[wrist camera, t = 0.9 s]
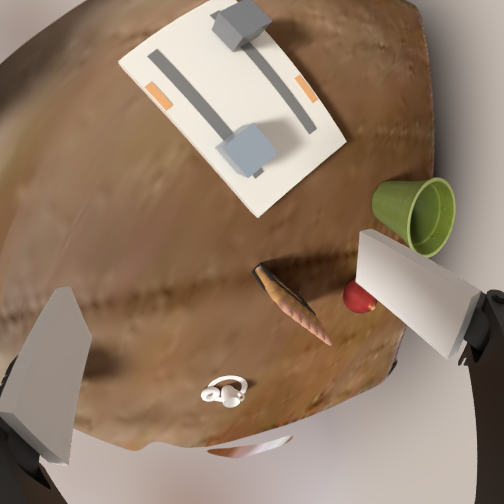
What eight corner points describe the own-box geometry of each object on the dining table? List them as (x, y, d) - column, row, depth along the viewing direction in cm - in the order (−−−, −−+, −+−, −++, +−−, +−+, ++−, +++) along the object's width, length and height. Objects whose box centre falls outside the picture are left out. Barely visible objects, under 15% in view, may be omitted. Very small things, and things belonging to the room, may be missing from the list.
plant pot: (396, 154, 40) (448, 163, 30) (414, 210, 45) (459, 229, 35) (348, 189, 40) (399, 206, 30) (372, 246, 45) (416, 273, 35)
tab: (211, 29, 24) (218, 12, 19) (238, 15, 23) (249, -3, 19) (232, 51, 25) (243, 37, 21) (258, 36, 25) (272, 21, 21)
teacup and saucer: (196, 395, 47) (199, 411, 44) (212, 369, 46) (217, 385, 42) (235, 402, 51) (240, 416, 47) (254, 377, 49) (260, 392, 46)
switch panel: (122, 68, 25) (117, 61, 22) (222, 2, 25) (227, -9, 22) (251, 212, 37) (257, 218, 34) (335, 141, 36) (347, 141, 33)
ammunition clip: (251, 271, 40) (280, 317, 29) (259, 261, 40) (292, 305, 29) (295, 306, 45) (329, 352, 34) (303, 298, 45) (340, 342, 34)
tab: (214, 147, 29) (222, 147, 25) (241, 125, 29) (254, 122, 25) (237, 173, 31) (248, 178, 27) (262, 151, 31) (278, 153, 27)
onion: (366, 274, 47) (394, 294, 40) (352, 301, 48) (377, 325, 41) (343, 267, 45) (371, 289, 38) (329, 297, 46) (354, 322, 39)
